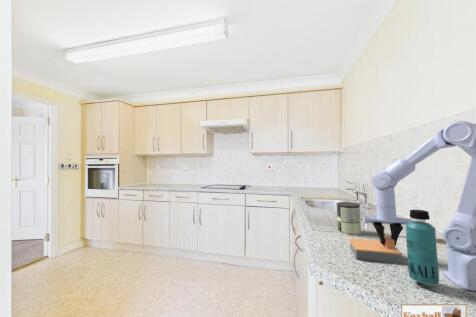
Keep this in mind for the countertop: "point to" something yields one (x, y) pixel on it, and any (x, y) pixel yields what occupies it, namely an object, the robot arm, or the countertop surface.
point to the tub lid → (375, 246)
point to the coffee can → (348, 218)
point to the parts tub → (376, 256)
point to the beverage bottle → (422, 249)
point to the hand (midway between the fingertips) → (388, 244)
